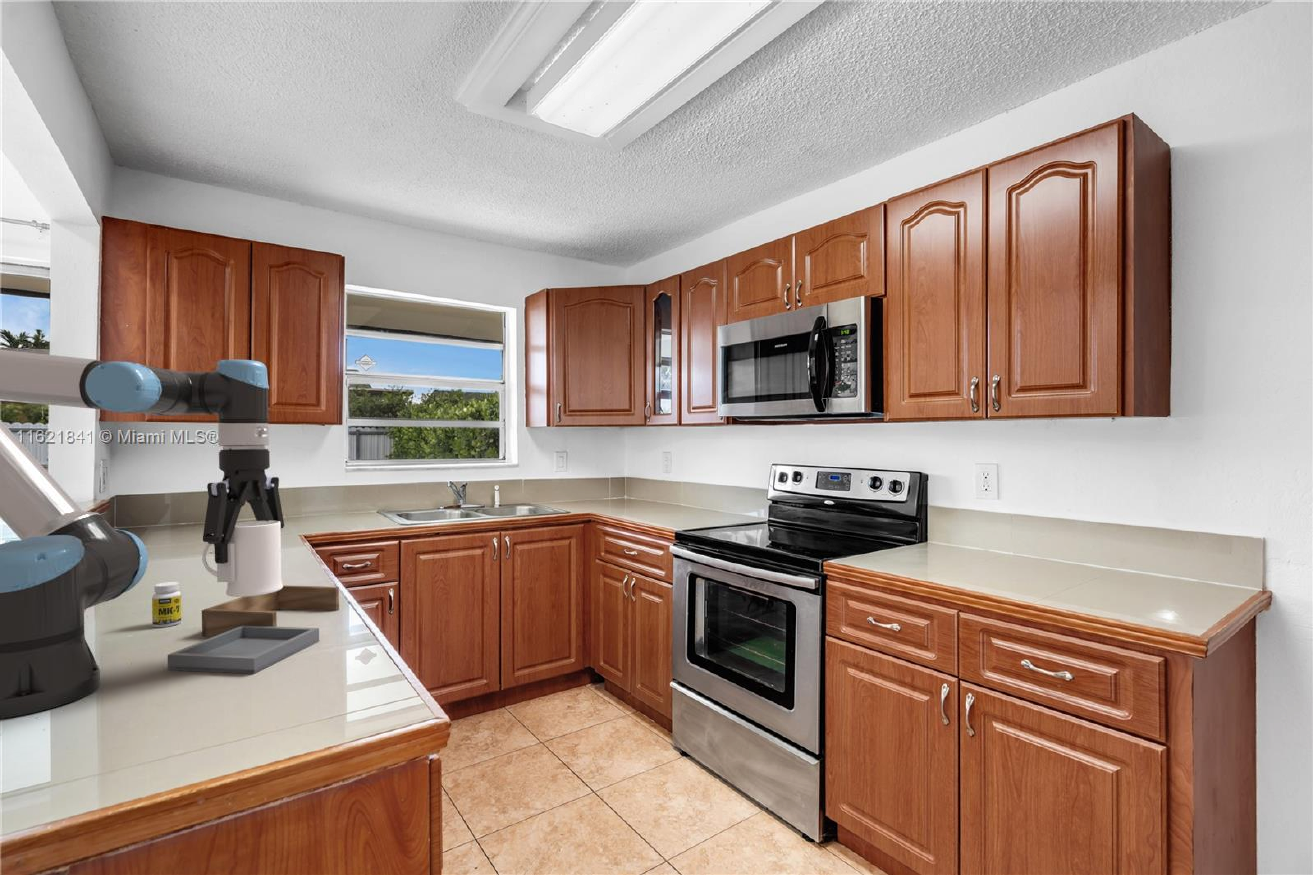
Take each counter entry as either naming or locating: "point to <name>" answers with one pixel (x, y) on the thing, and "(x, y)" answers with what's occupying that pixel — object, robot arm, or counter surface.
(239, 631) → the tray
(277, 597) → the bay
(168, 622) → the supplement bottle
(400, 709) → the counter surface
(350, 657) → the counter surface
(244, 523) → the mug
